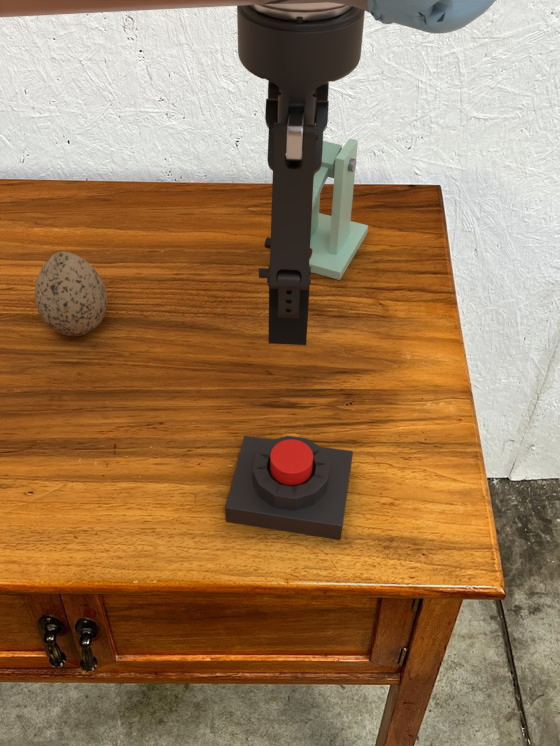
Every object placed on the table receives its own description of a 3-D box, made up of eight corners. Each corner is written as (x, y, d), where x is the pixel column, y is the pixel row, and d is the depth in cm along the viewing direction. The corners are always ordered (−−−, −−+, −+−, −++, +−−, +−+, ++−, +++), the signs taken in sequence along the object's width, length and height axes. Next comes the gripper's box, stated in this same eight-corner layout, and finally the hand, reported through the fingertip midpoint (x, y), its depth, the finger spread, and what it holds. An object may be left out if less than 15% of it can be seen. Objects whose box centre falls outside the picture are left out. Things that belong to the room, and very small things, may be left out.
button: (266, 482, 66) (266, 469, 64) (274, 449, 68) (274, 436, 67) (308, 488, 65) (309, 476, 64) (314, 455, 68) (315, 442, 66)
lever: (309, 264, 81) (307, 252, 79) (266, 253, 83) (262, 240, 81) (354, 162, 86) (353, 147, 84) (313, 152, 87) (310, 137, 85)
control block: (225, 522, 67) (223, 495, 64) (244, 450, 72) (243, 422, 70) (340, 540, 66) (343, 513, 63) (351, 465, 71) (354, 438, 68)
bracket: (339, 280, 90) (348, 176, 80) (276, 262, 92) (277, 159, 82) (367, 233, 96) (379, 131, 86) (307, 217, 98) (312, 116, 88)
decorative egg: (58, 360, 80) (38, 286, 73) (35, 320, 84) (13, 246, 77) (123, 335, 83) (109, 261, 76) (97, 298, 87) (81, 224, 80)
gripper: (373, 99, 36) (340, 402, 52) (361, -72, 54) (339, 193, 69) (213, 93, 36) (227, 396, 52) (252, -75, 54) (254, 189, 69)
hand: (291, 281), depth 60 cm, fingers open, 13 cm apart
